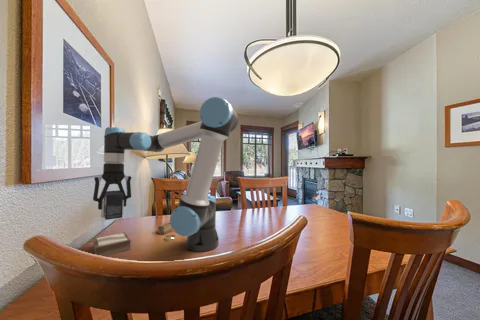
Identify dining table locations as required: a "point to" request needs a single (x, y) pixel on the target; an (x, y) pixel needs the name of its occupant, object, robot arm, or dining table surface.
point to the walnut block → (164, 228)
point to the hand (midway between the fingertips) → (112, 215)
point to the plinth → (111, 244)
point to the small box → (113, 204)
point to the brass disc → (170, 237)
